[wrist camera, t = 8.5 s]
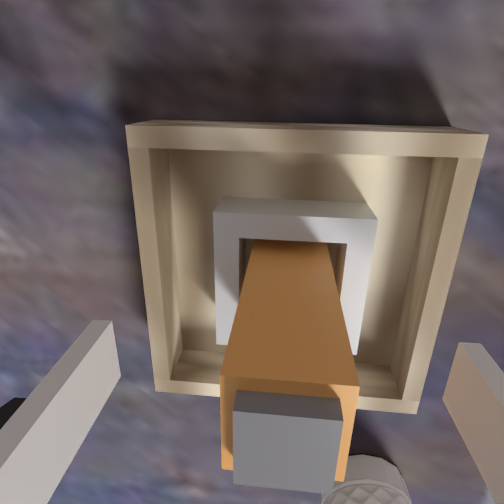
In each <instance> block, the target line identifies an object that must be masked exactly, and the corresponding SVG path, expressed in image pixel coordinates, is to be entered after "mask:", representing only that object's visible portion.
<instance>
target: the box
mask: <svg viewBox="0 0 504 504" xmlns="http://www.w3.org/2000/svg"><path fill="white" fill-rule="evenodd" d="M125 129H126V137H127V146H128V155H129V163H130V172H131V181H132V190H133V198H134V207H135V216H136V224H137V233H138V242H139V251H140V259H141V268H142V277H143V285H144V294H145V303H146V311H147V320H148V329H149V338H150V346H151V355H152V364H153V372H154V381H155V390H156V391H159V392H171V393H182V394H193V395H205V396H216V397H220V372H221V368H222V364H223V360H224V356H225V352H226V348H227V345H219V344H216V308H215V271H214V235H213V211H214V210H215V208H216V207H217V205H218V204H219V202H220V201H221V199H222V198H223V197H244V198H268V199H292V200H316V201H340V202H364V203H367V204H368V205H369V207H370V208H371V210H372V211H373V213H374V214H375V216H376V217H377V219H378V224H377V230H376V237H375V243H374V249H373V256H372V262H371V268H370V274H369V281H368V287H367V293H366V299H365V306H364V312H363V318H362V325H361V331H360V337H359V343H358V350H357V355H353V358H354V363H355V367H356V371H357V376H358V380H359V384H360V390H359V396H358V402H357V407H356V409H364V410H375V411H387V412H398V413H410V414H416V413H417V409H418V406H419V402H420V398H421V394H422V390H423V386H424V382H425V379H426V375H427V371H428V367H429V363H430V359H431V355H432V352H433V348H434V344H435V340H436V336H437V332H438V329H439V325H440V321H441V317H442V313H443V309H444V305H445V302H446V298H447V294H448V290H449V286H450V282H451V278H452V275H453V271H454V267H455V263H456V259H457V255H458V252H459V248H460V244H461V240H462V236H463V232H464V228H465V225H466V221H467V217H468V213H469V209H470V205H471V201H472V198H473V194H474V190H475V186H476V182H477V178H478V175H479V171H480V167H481V163H482V159H483V155H484V151H485V148H486V144H487V140H488V136H489V134H484V133H480V132H475V131H470V130H466V129H461V128H456V127H451V126H410V125H368V124H326V123H285V122H243V121H201V120H160V119H154V120H149V121H144V122H139V123H134V124H128V125H125ZM253 243H254V239H248V238H245V274H246V270H247V266H248V262H249V258H250V254H251V251H252V247H253ZM327 246H328V250H329V255H330V259H331V263H332V268H333V272H334V271H335V263H336V254H337V246H338V243H327Z"/></svg>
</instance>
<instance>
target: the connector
mask: <svg viewBox="0 0 504 504" xmlns="http://www.w3.org/2000/svg"><path fill="white" fill-rule="evenodd" d="M359 390H360V384H359V380H358V376H357V371H356V367H355V363H354V358H353V354H352V350H351V345H350V341H349V337H348V332H347V328H346V324H345V320H344V315H343V311H342V307H341V302H340V298H339V294H338V289H337V285H336V281H335V276H334V272H333V268H332V263H331V259H330V255H329V250H328V246H327V243H326V242H307V241H287V240H267V239H254V243H253V247H252V251H251V254H250V258H249V262H248V266H247V270H246V274H245V278H244V282H243V286H242V290H241V294H240V297H239V301H238V305H237V309H236V313H235V317H234V321H233V325H232V329H231V333H230V337H229V340H228V344H227V348H226V352H225V356H224V360H223V364H222V368H221V372H220V410H221V451H222V469H226V470H233V484H239V485H248V486H257V487H267V488H276V489H285V490H294V491H304V492H313V493H322V494H332V492H333V486H334V481H341V482H344V477H345V472H346V466H347V460H348V454H349V448H350V442H351V437H352V431H353V425H354V419H355V413H356V407H357V402H358V396H359Z"/></svg>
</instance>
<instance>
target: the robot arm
mask: <svg viewBox="0 0 504 504" xmlns="http://www.w3.org/2000/svg"><path fill="white" fill-rule="evenodd" d="M120 377H121V374H120V368H119V362H118V356H117V350H116V343H115V337H114V331H113V325H112V321H105V320H92V321H91V323H90V324H89V325H88V326H87V327H86V329H85V330H84V331H83V332H82V333H81V335H80V336H79V337H78V338H77V339H76V340H75V342H74V343H73V344H72V345H71V346H70V348H69V349H68V350H67V351H66V352H65V354H64V355H63V356H62V357H61V358H60V359H59V361H58V362H57V363H56V364H55V365H54V367H53V368H52V369H51V370H50V371H49V373H48V374H47V375H46V376H45V377H44V378H43V380H42V381H41V382H40V383H39V384H38V386H37V387H36V388H35V389H34V390H33V392H32V393H31V394H30V395H29V396H28V397H27V398H13V399H12V400H10V401H9V402H8V403H6V404H5V405H3V406H2V407H0V504H47V503H48V501H49V499H50V498H51V496H52V494H53V493H54V491H55V489H56V487H57V486H58V484H59V482H60V480H61V479H62V477H63V475H64V473H65V472H66V470H67V468H68V467H69V465H70V463H71V461H72V460H73V458H74V456H75V454H76V453H77V451H78V449H79V448H80V446H81V444H82V442H83V441H84V439H85V437H86V435H87V434H88V432H89V430H90V428H91V427H92V425H93V423H94V422H95V420H96V418H97V416H98V415H99V413H100V411H101V409H102V408H103V406H104V404H105V403H106V401H107V399H108V397H109V396H110V394H111V392H112V390H113V389H114V387H115V385H116V383H117V382H118V380H119V378H120ZM443 401H444V403H445V405H446V407H447V409H448V411H449V413H450V415H451V417H452V419H453V421H454V423H455V425H456V427H457V429H458V431H459V433H460V435H461V437H462V439H463V440H464V442H465V444H466V446H467V448H468V450H469V452H470V454H471V456H472V458H473V460H474V462H475V464H476V466H477V468H478V470H479V472H480V474H481V476H482V478H483V479H484V481H485V483H486V485H487V487H488V489H489V491H490V493H491V495H492V497H493V499H494V501H495V503H496V504H504V373H503V372H502V370H501V369H500V368H499V367H498V365H497V364H496V363H495V361H494V360H493V359H492V358H491V356H490V355H489V354H488V352H487V351H486V350H485V349H484V347H483V346H482V345H481V344H480V343H464V342H459V344H458V347H457V351H456V354H455V357H454V361H453V364H452V368H451V371H450V375H449V378H448V381H447V385H446V388H445V392H444V395H443Z"/></svg>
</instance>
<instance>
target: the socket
mask: <svg viewBox="0 0 504 504" xmlns="http://www.w3.org/2000/svg"><path fill="white" fill-rule="evenodd" d="M377 224H378V219H377V217H376V216H375V214H374V213H373V211H372V210H371V208H370V207H369V205H368V204H367V203H364V202H340V201H316V200H292V199H268V198H244V197H223V198H222V199H221V201H220V202H219V204H218V205H217V207H216V208H215V210H214V211H213V235H214V271H215V308H216V344H219V345H227V344H228V340H229V337H230V333H231V329H232V325H233V321H234V317H235V313H236V309H237V305H238V301H239V297H240V294H241V290H242V286H243V282H244V278H245V238H248V239H267V240H287V241H307V242H326V243H338V246H337V254H336V263H335V271H334V276H335V281H336V285H337V289H338V294H339V298H340V302H341V307H342V311H343V315H344V320H345V324H346V328H347V332H348V337H349V341H350V345H351V350H352V354H353V355H357V350H358V343H359V337H360V331H361V325H362V318H363V312H364V306H365V299H366V293H367V287H368V281H369V274H370V268H371V262H372V256H373V249H374V243H375V237H376V230H377Z"/></svg>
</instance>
